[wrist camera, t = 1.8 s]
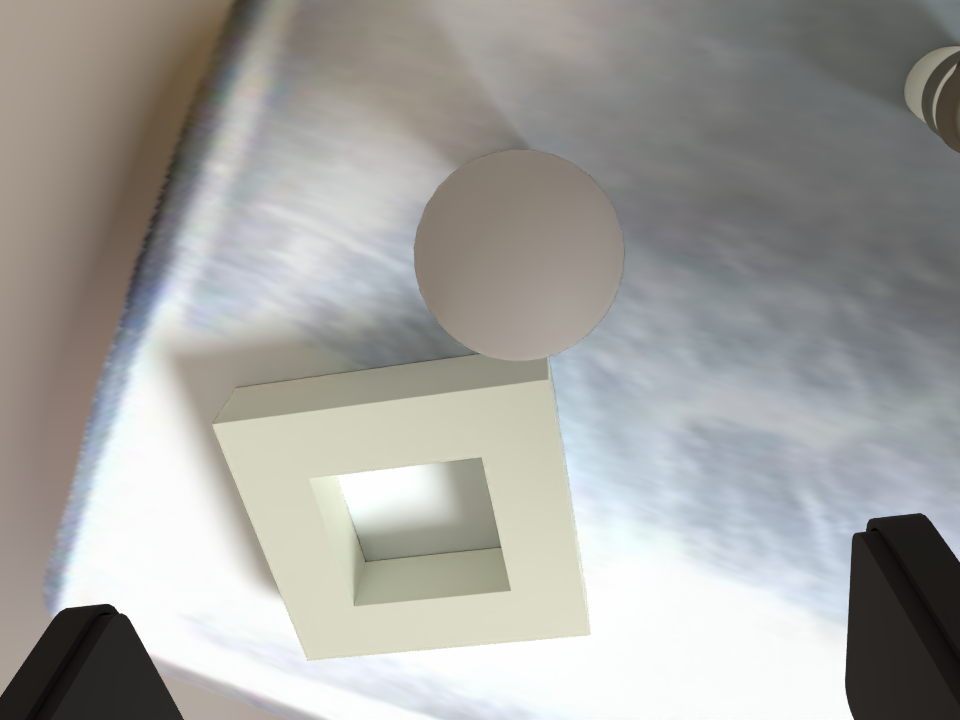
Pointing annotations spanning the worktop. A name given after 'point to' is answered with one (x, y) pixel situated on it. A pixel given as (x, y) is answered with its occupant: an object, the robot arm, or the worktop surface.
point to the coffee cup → (937, 93)
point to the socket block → (400, 443)
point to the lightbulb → (519, 255)
